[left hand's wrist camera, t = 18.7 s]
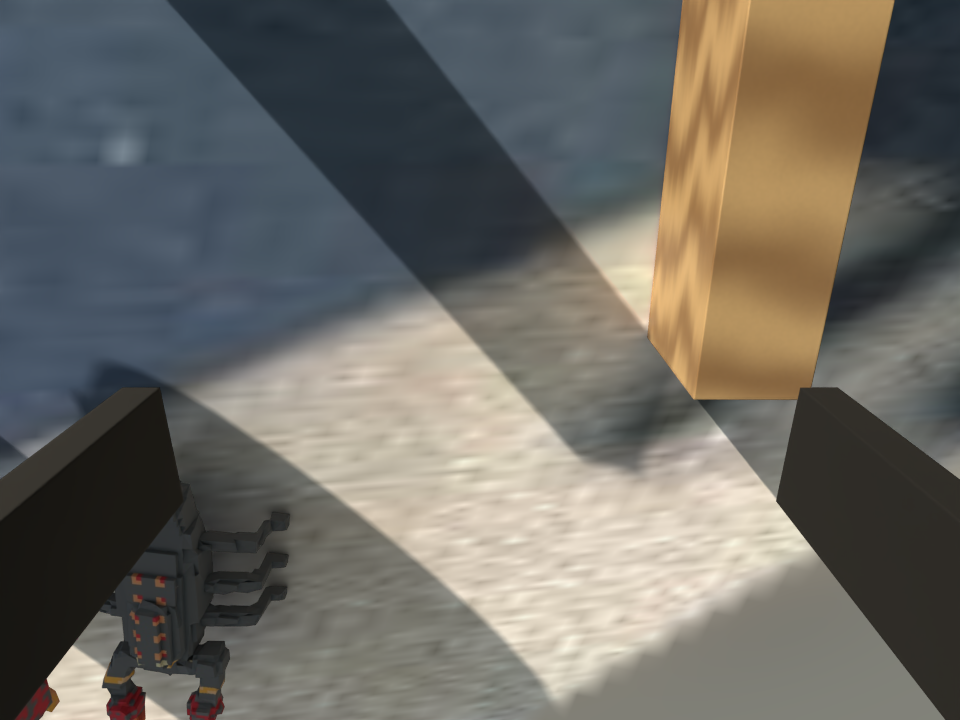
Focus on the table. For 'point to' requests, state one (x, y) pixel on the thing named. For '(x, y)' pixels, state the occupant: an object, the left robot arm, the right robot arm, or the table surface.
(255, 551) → the toy
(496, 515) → the table surface
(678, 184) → the oak beam
